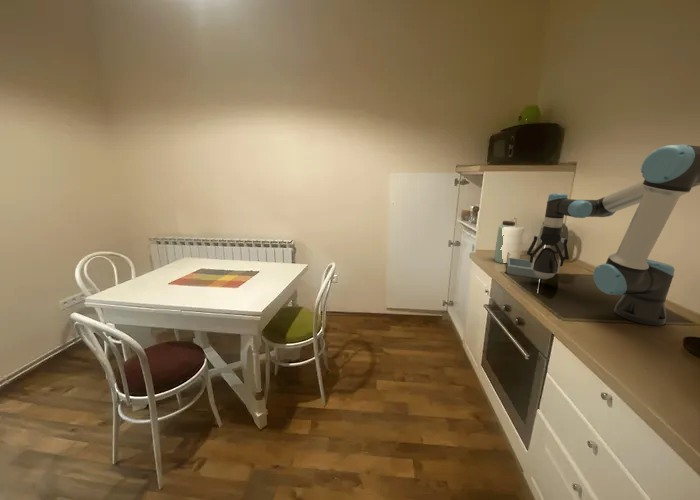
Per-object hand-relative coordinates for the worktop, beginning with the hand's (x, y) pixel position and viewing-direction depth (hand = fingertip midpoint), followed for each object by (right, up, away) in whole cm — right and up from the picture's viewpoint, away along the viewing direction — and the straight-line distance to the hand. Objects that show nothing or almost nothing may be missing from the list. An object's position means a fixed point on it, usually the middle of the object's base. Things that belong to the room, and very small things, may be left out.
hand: (544, 270), depth 154 cm
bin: (+2, -2, +21) cm, 21 cm away
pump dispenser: (0, -3, +1) cm, 4 cm away
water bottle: (-2, +3, +39) cm, 39 cm away
